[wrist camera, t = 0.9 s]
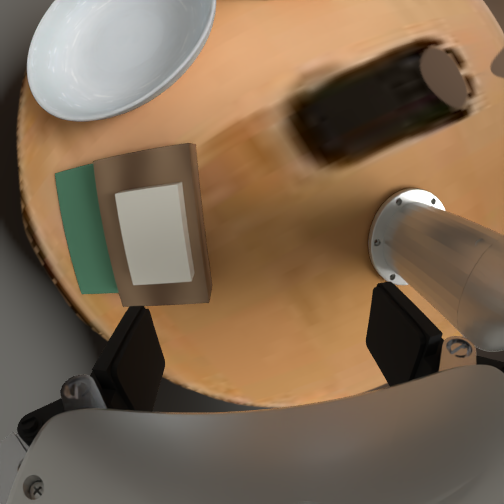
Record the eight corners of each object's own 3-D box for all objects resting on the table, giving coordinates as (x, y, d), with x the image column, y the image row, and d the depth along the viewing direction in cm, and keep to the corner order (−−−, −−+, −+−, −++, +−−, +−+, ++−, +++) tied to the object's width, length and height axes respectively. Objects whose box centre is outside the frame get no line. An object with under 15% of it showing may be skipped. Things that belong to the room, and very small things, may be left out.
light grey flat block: (181, 181, 25) (177, 184, 23) (194, 272, 28) (191, 281, 26) (123, 190, 25) (114, 193, 23) (139, 276, 28) (133, 285, 26)
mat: (108, 159, 27) (106, 160, 27) (132, 290, 32) (131, 292, 32) (56, 173, 27) (54, 173, 27) (82, 292, 32) (81, 294, 32)
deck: (195, 144, 27) (189, 143, 23) (212, 285, 33) (209, 302, 29) (109, 159, 27) (93, 161, 23) (133, 290, 32) (122, 306, 29)
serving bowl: (220, -33, 19) (217, -65, 13) (221, 113, 26) (216, 101, 20) (68, 4, 19) (43, -13, 12) (55, 141, 26) (20, 143, 19)
